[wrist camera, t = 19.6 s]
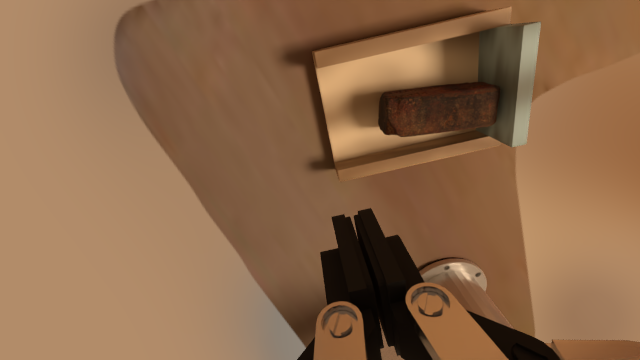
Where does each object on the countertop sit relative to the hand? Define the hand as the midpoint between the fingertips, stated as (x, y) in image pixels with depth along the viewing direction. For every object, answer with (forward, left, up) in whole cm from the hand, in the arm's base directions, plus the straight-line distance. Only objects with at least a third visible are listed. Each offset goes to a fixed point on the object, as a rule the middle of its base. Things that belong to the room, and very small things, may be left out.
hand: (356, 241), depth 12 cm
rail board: (0, -10, -22) cm, 24 cm away
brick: (-1, -12, -21) cm, 24 cm away
